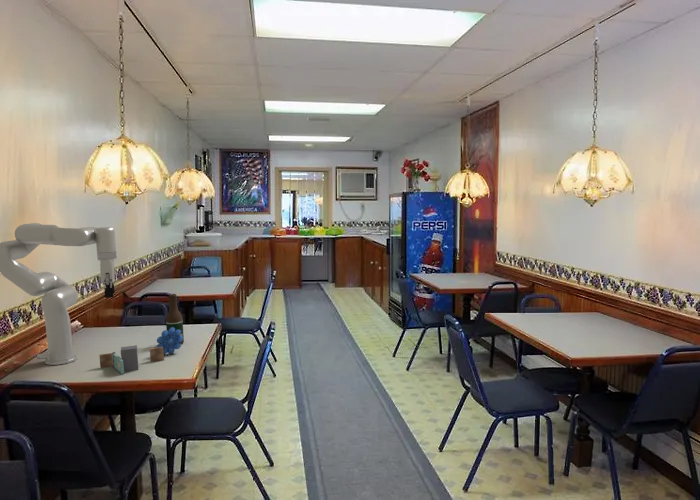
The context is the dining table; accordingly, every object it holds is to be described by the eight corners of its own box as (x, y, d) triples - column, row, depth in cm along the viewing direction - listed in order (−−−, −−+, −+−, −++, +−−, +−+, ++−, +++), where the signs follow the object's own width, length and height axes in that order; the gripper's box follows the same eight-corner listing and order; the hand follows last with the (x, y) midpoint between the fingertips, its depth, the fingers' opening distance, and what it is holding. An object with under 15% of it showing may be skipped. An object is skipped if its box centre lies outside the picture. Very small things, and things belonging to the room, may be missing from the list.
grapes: (182, 349, 248) (181, 324, 247) (185, 353, 242) (183, 327, 241) (155, 353, 243) (154, 327, 242) (157, 357, 237) (155, 330, 236)
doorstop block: (122, 371, 219) (120, 350, 218) (122, 368, 224) (121, 347, 223) (138, 369, 221) (136, 348, 220) (138, 366, 226) (136, 345, 225)
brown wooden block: (100, 368, 225) (99, 354, 224) (100, 367, 226) (99, 353, 225) (164, 360, 233) (163, 346, 233) (163, 359, 234) (163, 346, 234)
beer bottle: (179, 346, 254) (175, 295, 252) (164, 345, 256) (160, 295, 253) (187, 341, 262) (184, 292, 259) (172, 341, 263) (169, 292, 261)
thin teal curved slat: (113, 366, 226) (112, 353, 226) (116, 365, 227) (115, 353, 226) (121, 374, 216) (120, 361, 215) (124, 373, 216) (123, 360, 216)
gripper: (99, 254, 239) (102, 293, 241) (95, 258, 223) (98, 299, 224) (117, 253, 241) (120, 291, 243) (115, 257, 225) (118, 298, 227)
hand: (110, 295), depth 234 cm, fingers open, 9 cm apart
